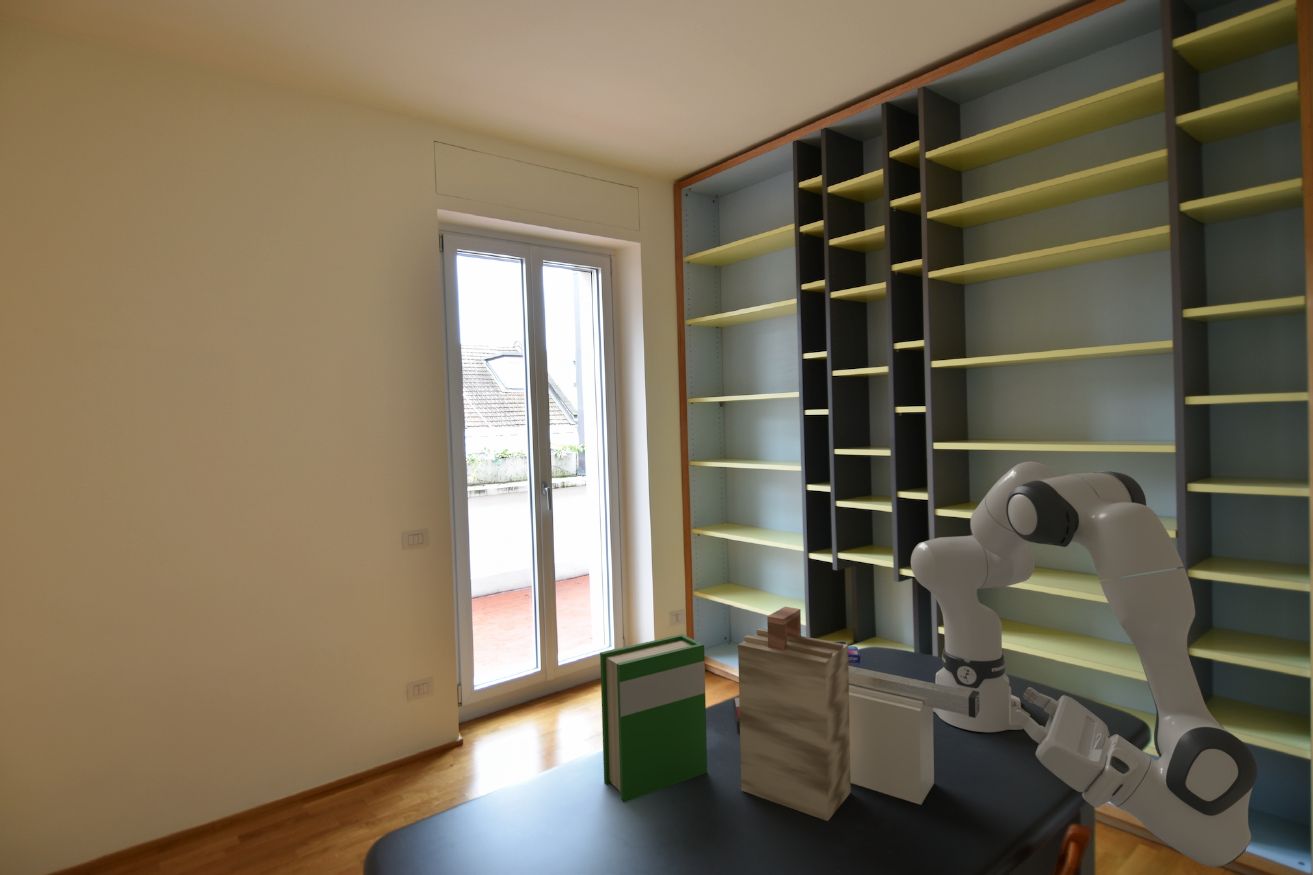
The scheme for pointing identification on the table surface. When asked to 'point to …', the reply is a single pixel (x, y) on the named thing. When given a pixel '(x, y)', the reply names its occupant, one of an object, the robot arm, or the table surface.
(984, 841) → the table surface
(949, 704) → the grey square bar
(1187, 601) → the robot arm
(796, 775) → the paper bag with handle
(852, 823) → the table surface
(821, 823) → the table surface
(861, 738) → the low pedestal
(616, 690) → the hardback book
